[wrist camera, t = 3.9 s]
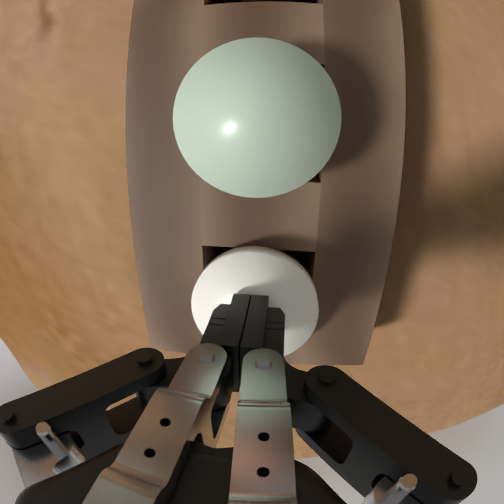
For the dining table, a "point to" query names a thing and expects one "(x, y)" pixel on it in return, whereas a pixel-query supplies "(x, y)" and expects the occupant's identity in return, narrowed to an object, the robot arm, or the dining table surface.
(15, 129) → the dining table surface
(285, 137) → the sage button
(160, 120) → the button console
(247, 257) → the cream button
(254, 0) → the terracotta button
